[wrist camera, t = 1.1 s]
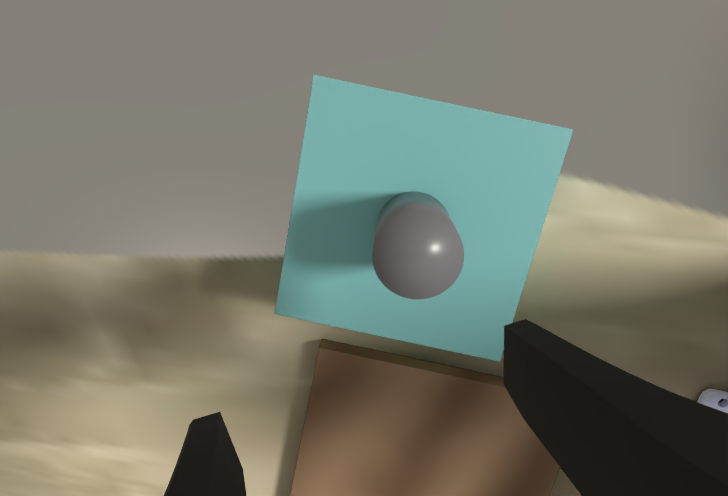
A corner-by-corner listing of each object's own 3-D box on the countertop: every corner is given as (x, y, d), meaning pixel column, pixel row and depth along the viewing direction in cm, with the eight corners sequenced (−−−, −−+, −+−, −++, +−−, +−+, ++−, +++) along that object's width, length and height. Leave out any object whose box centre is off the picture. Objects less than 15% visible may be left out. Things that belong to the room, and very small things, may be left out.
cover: (539, 125, 23) (620, 134, 15) (482, 319, 26) (523, 417, 17) (328, 81, 23) (292, 65, 15) (294, 279, 26) (248, 358, 17)
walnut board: (577, 393, 26) (584, 404, 25) (513, 563, 30) (517, 578, 29) (321, 339, 26) (319, 347, 25) (287, 515, 30) (283, 528, 29)
